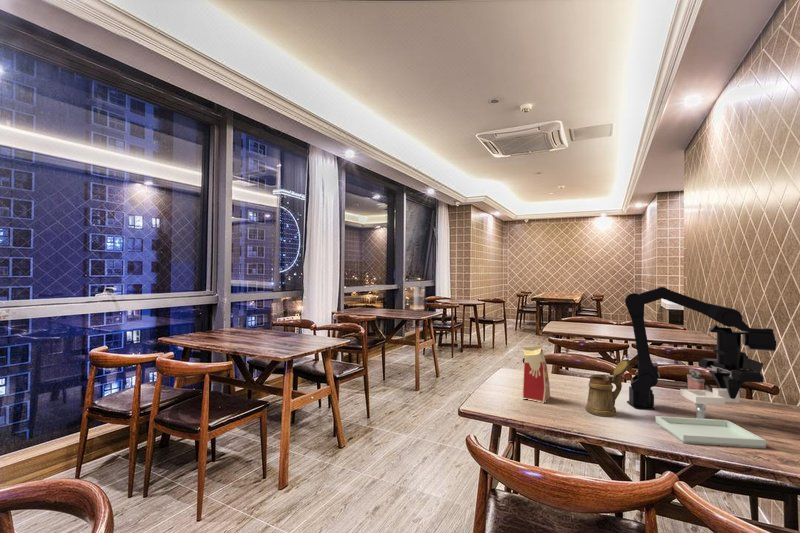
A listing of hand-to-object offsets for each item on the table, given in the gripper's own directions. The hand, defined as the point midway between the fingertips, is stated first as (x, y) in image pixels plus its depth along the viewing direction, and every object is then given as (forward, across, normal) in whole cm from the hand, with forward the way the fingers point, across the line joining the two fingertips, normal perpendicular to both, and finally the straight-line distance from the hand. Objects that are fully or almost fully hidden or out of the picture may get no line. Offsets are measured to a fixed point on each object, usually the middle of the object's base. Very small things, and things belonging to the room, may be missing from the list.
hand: (729, 397), depth 115 cm
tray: (+8, -12, +14) cm, 20 cm away
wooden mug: (+8, +2, +35) cm, 36 cm away
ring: (+1, 0, +5) cm, 5 cm away
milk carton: (+8, +13, +56) cm, 58 cm away
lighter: (+8, +24, -5) cm, 26 cm away
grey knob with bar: (+8, 0, +8) cm, 11 cm away
